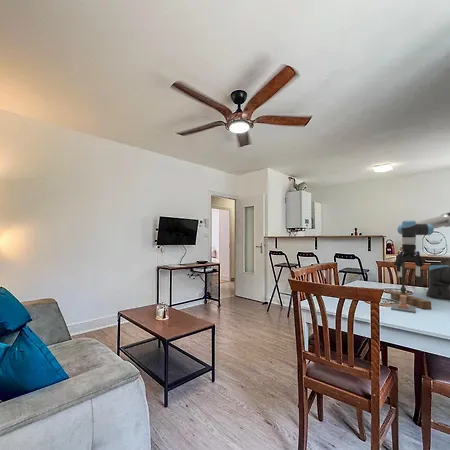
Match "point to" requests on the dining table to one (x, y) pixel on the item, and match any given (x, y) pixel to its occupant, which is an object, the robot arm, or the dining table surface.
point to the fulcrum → (403, 306)
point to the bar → (412, 301)
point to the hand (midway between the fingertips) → (408, 276)
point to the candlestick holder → (403, 278)
